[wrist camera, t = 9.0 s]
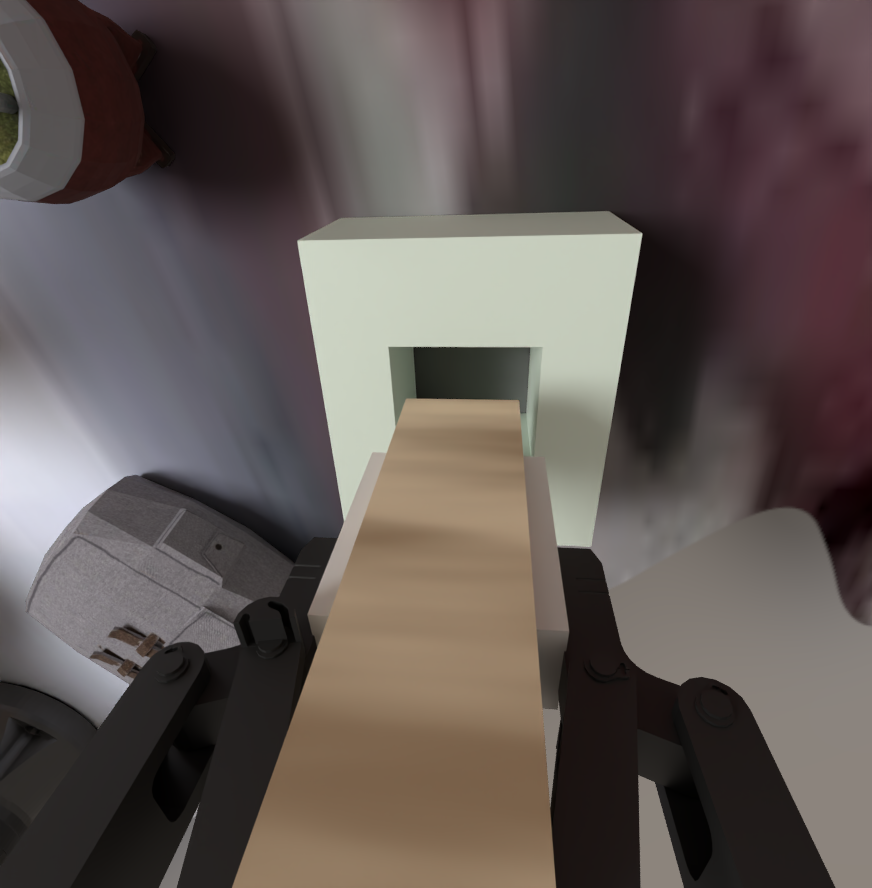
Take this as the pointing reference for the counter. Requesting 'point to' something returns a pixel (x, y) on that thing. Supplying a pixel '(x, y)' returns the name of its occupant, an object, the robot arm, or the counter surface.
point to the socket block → (476, 330)
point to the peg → (422, 682)
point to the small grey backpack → (151, 576)
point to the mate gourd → (71, 103)
